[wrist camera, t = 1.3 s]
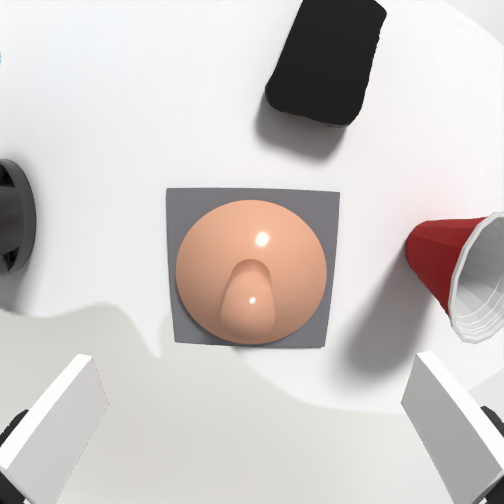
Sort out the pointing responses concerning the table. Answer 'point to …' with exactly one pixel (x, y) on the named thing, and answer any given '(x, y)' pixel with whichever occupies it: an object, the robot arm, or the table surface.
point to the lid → (251, 272)
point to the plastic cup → (463, 271)
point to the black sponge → (327, 60)
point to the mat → (206, 199)
